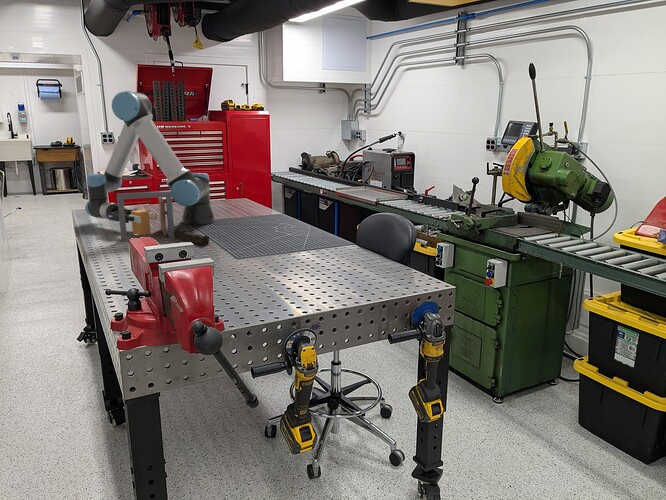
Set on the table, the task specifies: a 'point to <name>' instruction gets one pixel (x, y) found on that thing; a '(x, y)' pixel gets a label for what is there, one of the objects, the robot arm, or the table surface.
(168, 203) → the door frame
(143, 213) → the block
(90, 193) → the robot arm
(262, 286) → the table surface
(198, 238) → the hand tool
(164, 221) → the door
